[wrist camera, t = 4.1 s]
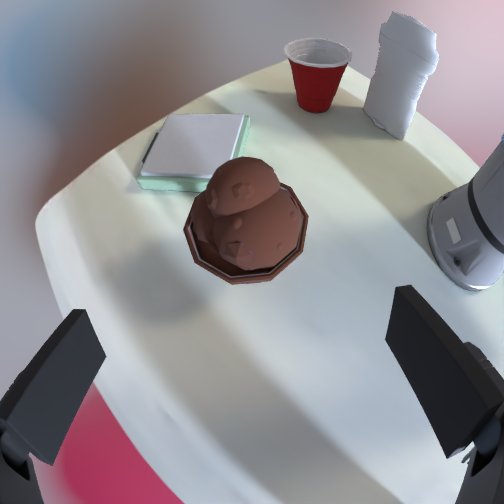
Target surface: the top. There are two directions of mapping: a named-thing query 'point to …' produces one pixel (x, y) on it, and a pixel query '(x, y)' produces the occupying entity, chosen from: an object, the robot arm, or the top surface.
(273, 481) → the top surface
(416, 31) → the tall pale column
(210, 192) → the ice cream bowl
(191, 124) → the scale
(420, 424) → the top surface
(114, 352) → the top surface
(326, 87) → the plastic cup
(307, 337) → the top surface
